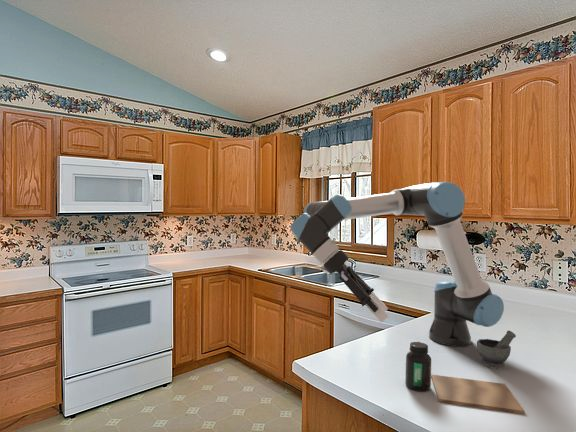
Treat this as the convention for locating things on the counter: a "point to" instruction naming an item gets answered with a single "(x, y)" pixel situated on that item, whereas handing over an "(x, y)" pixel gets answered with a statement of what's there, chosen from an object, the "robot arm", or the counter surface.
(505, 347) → the mortar and pestle
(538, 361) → the counter surface
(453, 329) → the robot arm
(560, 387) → the counter surface
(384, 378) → the counter surface
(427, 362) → the supplement bottle
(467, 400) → the cutting board
